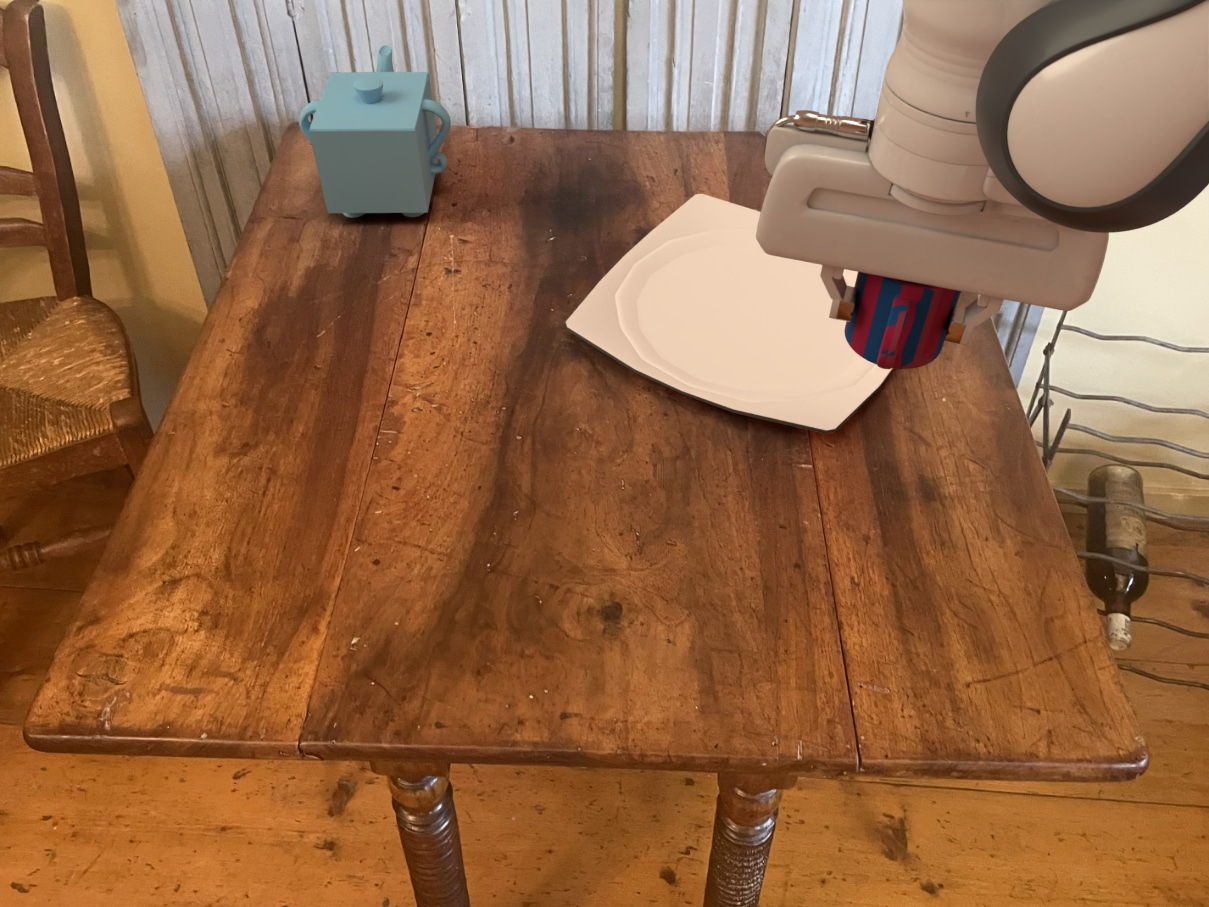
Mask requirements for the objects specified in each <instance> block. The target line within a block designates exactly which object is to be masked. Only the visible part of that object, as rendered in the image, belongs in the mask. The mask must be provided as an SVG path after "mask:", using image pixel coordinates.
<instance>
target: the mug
mask: <svg viewBox="0 0 1209 907" xmlns="http://www.w3.org/2000/svg"><path fill="white" fill-rule="evenodd" d="M855 287H856V288H858V293H857V297H856V302H855V306H854V310H853V314H852V318H851V322H847V321H846V325H845V330H844V332H845V338H846V340H847V342H848V344H849V345H850V347H851V348H852V349H853V350H854V351H855V352H856V353H857V354H858V355H859V356H861V357H862V358H864V359H866V360H867V361H869V362H872V363H874V364H876V365H877V366H878V367H880V368H883V369H891V368H893V370H910V369H911V370H912V369H917V368H921V367H925V366H927V365H929V364H931V363H933V361H935V360H936V359H937V358H938V357H939V355H940V354H941V352H942V349H943V347H944V344H945V341H944V337H945V331H946V327H947V323H948V321H949V319H950V314H951V311H952V308H953V307H957V305H958V303H959V302H958V301H959V299H960V296H961V294H962V291H957V290H952V289H947V288H941V287H936V286H931V285H925V284H920V283H915V282H909V281H904V280H899V279H894V278H888V277H883V276H878V275H873V274H867V273H862V272H858V274H857V278H856V282H855Z"/></svg>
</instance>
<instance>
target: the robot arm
mask: <svg viewBox="0 0 1209 907" xmlns="http://www.w3.org/2000/svg"><path fill="white" fill-rule="evenodd" d="M902 11H903V23H902V27H901V32H900V37H899V40H898V42H897V44H896V45H895V48H894V49H893V52H892V53H891V55H890V57H889V59H888V60H887V64H886V68H885V71H884V76H883V80H882V85H881V89H880V93H879V98H878V102H877V107H876V112H875V116H874V118H873V119H868V118H860V117H854V116H847V115H831V114H823V113H820V112H819V111H815V110H808V109H800V110H796V112H795V114H793V115H786V116H783V117H780V118H779V119H777V120H776V121H775V122H773V123H772V125H771V126H770V127H769V128H768V131H767V133H766V137H765V143H764V152H763V162H764V166H765V168H766V170H767V172H768V173H769V174H770V176H771V178H770V181H769V185H768V187H767V190H766V194H765V196H764V199H763V203H762V206H761V209H760V212H761V213H760V217H759V221H758V226H757V231H756V240H757V242H758V243H759V245H760V246H761V248H762V249H763V251H764V252H765V253H766V254H768V255H772V256H777V257H783V258H788V259H793V260H799V261H804V262H809V263H814V264H820V265H822V269H821V274H820V277H821V279H822V281H823V283H824V285H825V287H826V289H827V292H828V294H829V296H830V298H831V299H833V301H832V305H831V310H830V314H829V318H833V319H837V320H842V321H847V322H851V318H852V314H853V310H854V306H855V302H856V297H857V293H858V288H856V287H851V286H847V284H846V282H845V279H844V277H843V272H844V269H846V270H851V271H857V272H862V273H867V274H873V275H878V276H883V277H888V278H894V279H899V280H904V281H909V282H915V283H920V284H925V285H931V286H936V287H941V288H947V289H952V290H957V291H961V293H962V292H964V293H968V294H973V295H977V297H976V299H975V300H973V301H972V302H970V304H968V305H967V306H966V307H960V306H956V307H953V308H952V311H951V314H950V319H949V321H948V323H947V327H946V331H945V337H944V342H949V343H953V344H958V345H963V346H968V345H969V342H970V340H971V337H972V333H973V330H974V328H977V327H978V326H980V325H982V324H983V323H984V322H986V321H987V320H989V319H990V318H991V317H993V316H994V315H995V314H997V313H998V312H1000V310H1001V308H1002V305H1003V302H1004V301H1005V300H1006V301H1010V302H1016V303H1021V304H1027V305H1032V306H1037V307H1042V308H1048V309H1053V310H1057V311H1063V312H1069V311H1073V310H1075V309H1077V308H1079V307H1081V306H1083V305H1084V304H1086V303H1088V302H1089V301H1090V300H1091V298H1092V295H1093V294H1094V291H1095V289H1096V286H1097V284H1098V281H1099V278H1100V275H1101V273H1102V269H1103V265H1104V262H1105V258H1106V255H1107V252H1108V251H1107V250H1108V245H1109V239H1110V233H1111V234H1112V233H1124V232H1129V231H1134V230H1135V231H1136V230H1138V229H1142V228H1145V227H1149V226H1152V225H1154V224H1157V223H1159V222H1161V221H1164V220H1165V219H1168V218H1170V217H1171V216H1172V215H1174V214H1176V213H1178V212H1180V210H1182V209H1184V208H1185V207H1186V206H1187V205H1189V204H1190V203H1191V202H1193V201H1194V199H1196V198H1197V197H1198V196H1199V195H1200V194H1201V193H1202V192H1203V191H1204V190H1205V189H1206V188H1207V187H1209V186H1208V185H1209V0H902ZM791 123H793V124H791Z"/></svg>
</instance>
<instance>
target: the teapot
mask: <svg viewBox="0 0 1209 907" xmlns="http://www.w3.org/2000/svg"><path fill="white" fill-rule="evenodd" d="M432 92H433V91H432V85H431V77H430V72H428V71H395V69H394V63H393V49H392V47H391V45H389V44H385V45H382V46H381V47H380V48H379V49H378V52H377V61H376V71H354V72H353V71H347V72H345V71H343V72H342V71H341V72H336V71H335V72H333V71H332V72H330V73H329V77H328V79H327V81H326V83H325V86H324V89H323V91H322V94H321V96H320V99H316V100H312V101H310V102H309V103H307V104H306V105H305V106H304V107H303V108H302V110H301V112H300V114H299V117H298V125H299V128H300V130H301V132H302V134H303V136H304V137H305V138H306V139H307V140H308V141H309V142H310V144H311V147H312V152H313V156H314V160H315V165H316V169H317V174H318V178H319V181H320V185H321V186H320V187H321V190H322V196H323V199H324V203H325V207H326V211H327V214H343V216H345V217H347V218H351V219H352V218H359V217H362V216H364V215H365V214H393V213H394V214H402V215H403V216H404V217H407V218H417V217H421V216H422V215H424V214H425V213H429V207H430V203H431V197H432V192H433V188H434V182H435V178H436V175H437V174H441V173H443V172H444V171H445V170H447V167H448V158H447V156H446V155H445V154H444V153H443V152H441V151H440V149H441V147H442V146H443V144H444V143H445V141H446V139H447V137H448V135H449V134H450V130H451V127H452V126H451V125H452V120H451V116H450V113H449V112H448V110H447V109H446V108H445V106H443V105H442V104H440V103H439V102H437V101H436V100H433V94H432ZM313 114H314V115H313ZM311 115H313V118H312V119H311V120H312V121H311V123H310V121H309V117H310V116H311ZM436 116H437V117H438V118H439V119H440V120H441V127H440V129H439V131H437V123H436ZM438 161H439V162H438Z"/></svg>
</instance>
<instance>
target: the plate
mask: <svg viewBox="0 0 1209 907" xmlns="http://www.w3.org/2000/svg"><path fill="white" fill-rule="evenodd" d="M760 213H761V211H760V210H756V209H752V208H751V207H750V208H749V207H746V206H743V205H739V204H736V203H733V202H730V201H728V200H723V199H721V198H719V197H718V198H717V197H715V196H712V195H708V194H705V193H696V194H694V195H693V196H691V197H690V198H689V199H688V200H687V201H686V202H684V203H683V204H682V205H681V206H679V208H677V209H676V210H675V211H673V212H672V213H671V214H670V215H669V216H667V218H665V219H664V220H662V222H660V223H659V224H658V225H657V226H656V227H654V228H653V229H652V230H651V231H650V232H648V233H647V235H645V236H644V237H643V238H641V240H639V241H638V242H637V244H635V245H634V246H633V247H632V248H631V249H630V250H629V251H628V252H626V253H625V254H624V255H623V256H622V257H621V258H620V260H618V262H616V263H615V265H613V267H612V268H611V269H609V271H608V272H607V273H606V274H605V275H604V276H603V277H602V278H601V279H600V280H599V281H598V282H597V284H596V285H595V286H594V288H592V289H591V291H590V292H589V293H588V294H587V295H586V297H585V298H584V299H583V300H582V302H581V303H580V304H579V305H578V306H577V308H576V309H575V310H574V311H573V312H572V313H571V315H570V316H569V317H568V318H567V319H566V320H565V324H564V325H565V329H566V331H567V332H569V333H570V334H572V335H574V337H577V338H578V339H580V340H581V341H583V342H585V343H586V344H588V345H590V346H592V347H593V348H594V349H596V350H598V351H599V352H601V353H602V354H604V355H606V356H607V357H609V358H611V359H612V360H614V361H616V362H617V363H618V364H620V365H621V366H622V367H625V368H626V369H627V370H630V371H631V372H633V373H634V374H637V375H639V376H641V377H643V378H646V379H648V380H650V381H652V382H654V383H657V384H659V385H661V386H664V387H666V388H668V389H670V390H672V391H675V392H677V393H679V394H681V395H683V396H685V397H689V398H692V399H695V400H697V401H699V402H702V403H705V404H708V405H710V406H714V407H716V408H719V409H722V410H725V411H727V412H730V413H733V414H736V415H737V414H738V415H741V416H746V417H749V418H750V417H751V418H755V419H760V420H763V421H767V422H772V423H776V424H780V425H786V426H788V427H789V426H790V427H794V428H799V429H803V430H807V431H811V432H815V433H820V434H825V435H826V434H833V433H836V432H837V431H838V430H839V429H840V428H841V427H842V426H843V425H844V424H845V423H846V422H847V421H848V420H849V419H850V418H851V417H852V416H854V414H855V413H856V412H857V411H858V410H859V409H860V408H861V407H862V406H863V405H864V404H866V402H867V401H868V400H869V399H870V398H871V397H872V396H873V395H874V394H875V393H877V391H878V390H880V388H881V387H882V385H883V384H884V382H886V380H887V378H888V377H889V376H890V374H891V373H892V372H893V371H894V369H893V368H891V369H883V368H880V367H878V366H877V365H876V364H874V363H872V362H869V361H867V360H866V359H864V358H862V357H861V356H859V355H858V354H857V353H856V352H855V351H854V350H853V349H852V348H851V347H850V345H849V344H848V342H847V340H846V338H845V332H844V330H845V325H846V321H842V320H837V319H833V318H829V314H830V310H831V305H832V301H833V299H831V298H830V296H829V294H828V292H827V289H826V287H825V285H824V283H823V281H822V279H821V277H820V274H821V269H822V265H820V264H814V263H809V262H804V261H799V260H793V259H788V258H783V257H777V256H772V255H768V254H766V253H765V252H764V251H763V249H762V248H761V246H760V245H759V243H758V242H757V240H756V231H757V226H758V221H759V217H760ZM857 274H858V272H857V271H851V270H846V269H844V272H843V277H844V279H845V282H846V284H847V286H851V287H855V282H856V278H857Z"/></svg>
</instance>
